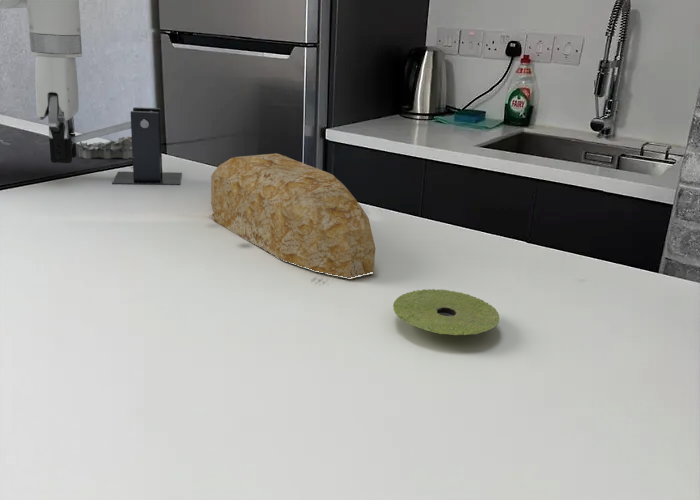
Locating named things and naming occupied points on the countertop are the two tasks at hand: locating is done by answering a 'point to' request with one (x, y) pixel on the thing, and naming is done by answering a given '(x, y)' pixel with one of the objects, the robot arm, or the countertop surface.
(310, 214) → the bread
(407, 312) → the green disc with hole
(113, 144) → the egg carton
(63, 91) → the robot arm
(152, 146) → the bracket
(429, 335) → the countertop surface
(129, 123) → the lever
